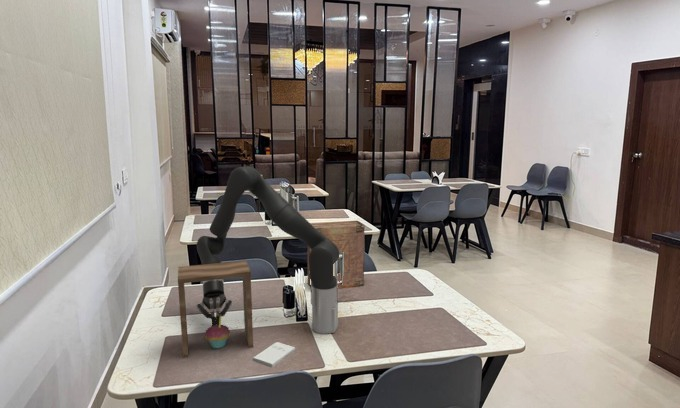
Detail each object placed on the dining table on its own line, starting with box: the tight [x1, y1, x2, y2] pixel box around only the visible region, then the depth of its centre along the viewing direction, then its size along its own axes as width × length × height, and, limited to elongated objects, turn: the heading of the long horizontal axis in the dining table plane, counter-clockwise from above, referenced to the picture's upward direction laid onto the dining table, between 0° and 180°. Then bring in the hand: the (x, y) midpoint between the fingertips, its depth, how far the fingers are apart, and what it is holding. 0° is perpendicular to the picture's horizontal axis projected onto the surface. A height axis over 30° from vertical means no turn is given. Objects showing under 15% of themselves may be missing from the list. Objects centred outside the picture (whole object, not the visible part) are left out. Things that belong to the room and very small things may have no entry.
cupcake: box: [204, 316, 231, 349], centre depth 153 cm, size 9×8×12 cm
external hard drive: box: [252, 341, 296, 368], centre depth 148 cm, size 2×8×12 cm
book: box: [307, 220, 366, 290], centre depth 208 cm, size 25×9×30 cm, turn 108°
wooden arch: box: [177, 260, 254, 359], centre depth 152 cm, size 13×23×28 cm, turn 109°
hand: (216, 327), depth 158 cm, fingers closed
